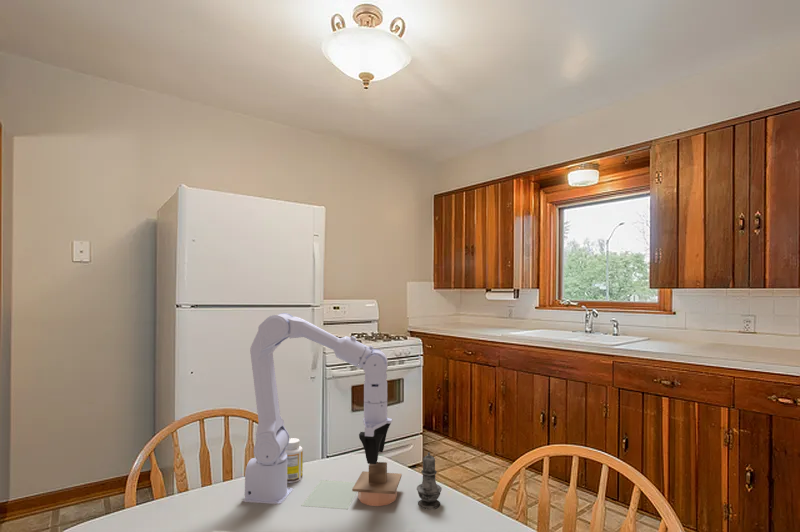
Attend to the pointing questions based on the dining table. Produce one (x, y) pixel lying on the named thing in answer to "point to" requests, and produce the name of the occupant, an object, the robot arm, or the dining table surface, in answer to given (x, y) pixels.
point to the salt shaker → (429, 485)
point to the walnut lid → (377, 480)
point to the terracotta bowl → (376, 498)
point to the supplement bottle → (294, 460)
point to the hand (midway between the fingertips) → (375, 457)
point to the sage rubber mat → (331, 495)
